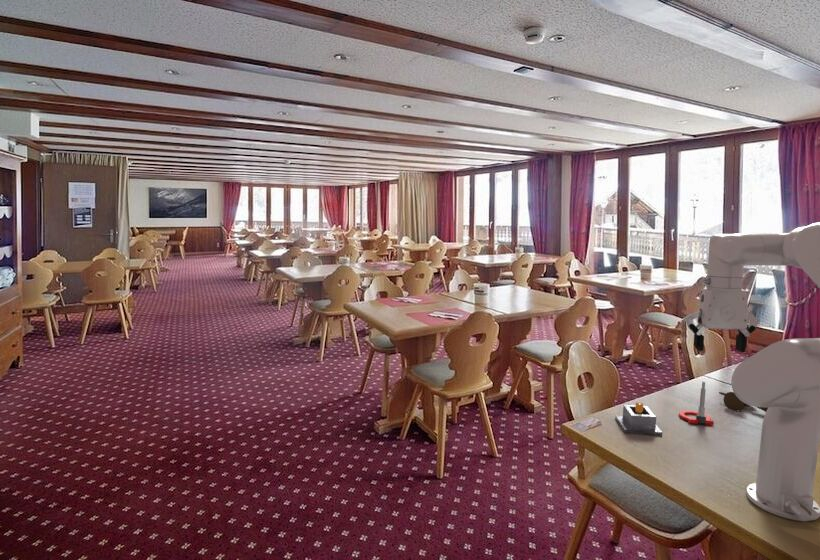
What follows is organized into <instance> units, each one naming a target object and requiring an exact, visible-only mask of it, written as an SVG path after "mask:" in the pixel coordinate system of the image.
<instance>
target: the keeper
mask: <svg viewBox="0 0 820 560" xmlns="http://www.w3.org/2000/svg"><path fill="white" fill-rule="evenodd" d="M635 405H636V407H635V414H643V406H644V404H643V403H642V402H635ZM615 420H616V422H617V423H618V425H619V427H620V426H621V427H620V428H621V430H622V429H623V430H622V431H623V433H624V434H631V433H632V434H633V435H644V436H646V435H647V436H661V437H662V436H663V431H662V429H661V428H659V426H658V425H657V424H656V429H655V430H640V429H630V427H629V426H628V424H627V423H626V421H625V420H624V418H623V415H617V414H615Z"/></svg>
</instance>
